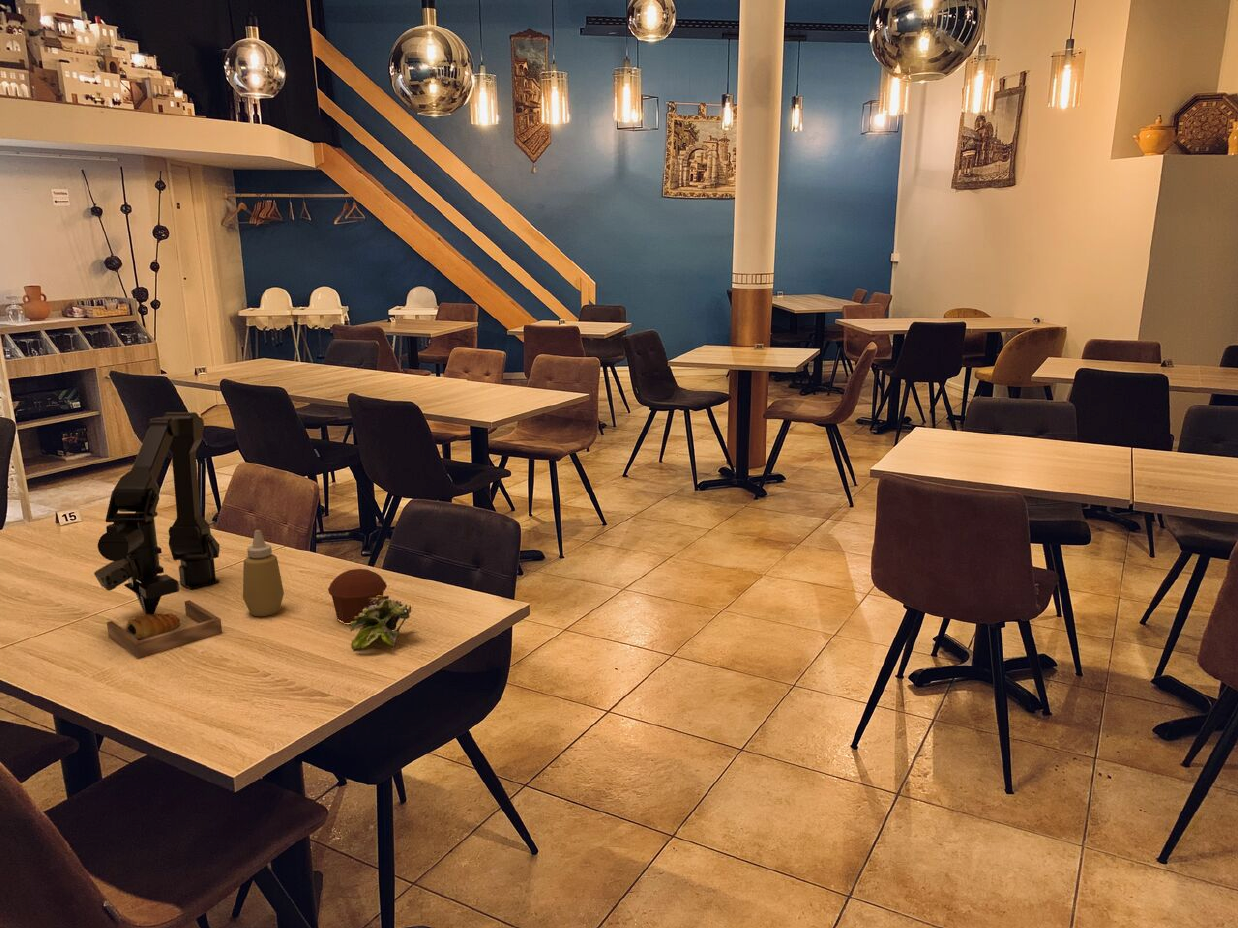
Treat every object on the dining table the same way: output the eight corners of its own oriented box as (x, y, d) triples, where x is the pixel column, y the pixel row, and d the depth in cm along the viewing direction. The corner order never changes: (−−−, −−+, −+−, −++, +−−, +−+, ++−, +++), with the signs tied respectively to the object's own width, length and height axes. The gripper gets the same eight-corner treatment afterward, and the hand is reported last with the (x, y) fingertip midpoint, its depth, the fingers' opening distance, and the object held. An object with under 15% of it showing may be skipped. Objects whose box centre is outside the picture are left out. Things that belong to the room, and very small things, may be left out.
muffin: (390, 605, 194) (388, 561, 192) (386, 626, 183) (384, 579, 181) (333, 608, 192) (330, 564, 190) (326, 629, 181) (322, 582, 179)
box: (190, 613, 189) (189, 599, 188) (222, 632, 179) (220, 618, 179) (108, 636, 177) (106, 622, 177) (137, 658, 168) (135, 643, 167)
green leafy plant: (382, 661, 180) (407, 605, 183) (405, 671, 171) (431, 612, 174) (332, 642, 174) (359, 584, 177) (354, 651, 165) (382, 590, 168)
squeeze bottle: (293, 608, 192) (287, 527, 188) (264, 622, 185) (257, 538, 181) (265, 602, 195) (258, 522, 191) (235, 615, 188) (227, 533, 184)
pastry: (171, 620, 186) (169, 602, 185) (187, 628, 182) (185, 611, 181) (123, 634, 179) (121, 616, 178) (139, 644, 175) (136, 626, 174)
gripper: (80, 542, 179) (89, 615, 183) (114, 565, 167) (124, 642, 171) (139, 530, 187) (147, 600, 191) (176, 551, 175) (184, 625, 179)
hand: (149, 617), depth 183 cm, fingers closed
